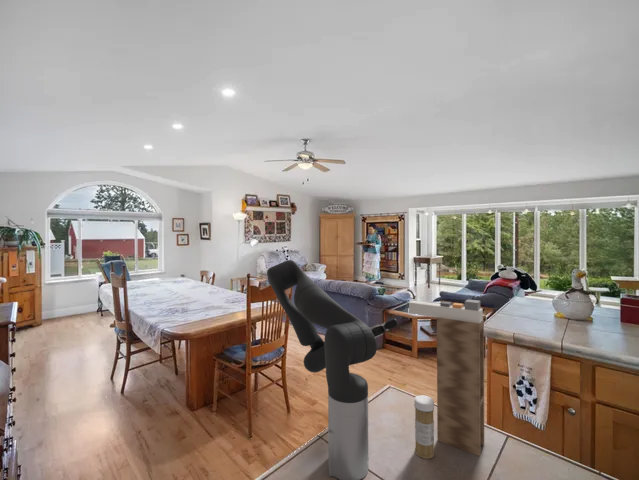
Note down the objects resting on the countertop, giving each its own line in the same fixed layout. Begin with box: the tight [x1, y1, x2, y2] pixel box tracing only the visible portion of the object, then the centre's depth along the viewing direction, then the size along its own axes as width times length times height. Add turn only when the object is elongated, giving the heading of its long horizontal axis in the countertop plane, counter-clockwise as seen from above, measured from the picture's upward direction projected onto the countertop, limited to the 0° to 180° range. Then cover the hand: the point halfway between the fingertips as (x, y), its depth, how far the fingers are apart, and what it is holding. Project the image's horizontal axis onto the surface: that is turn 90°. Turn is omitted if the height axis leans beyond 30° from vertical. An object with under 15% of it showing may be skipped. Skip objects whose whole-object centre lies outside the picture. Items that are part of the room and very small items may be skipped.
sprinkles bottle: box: [414, 394, 435, 460], centre depth 77 cm, size 5×5×14 cm
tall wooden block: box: [436, 317, 485, 457], centre depth 81 cm, size 10×6×32 cm, turn 52°
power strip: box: [408, 299, 484, 323], centre depth 83 cm, size 18×4×5 cm, turn 52°
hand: (390, 324), depth 93 cm, fingers open, 8 cm apart
